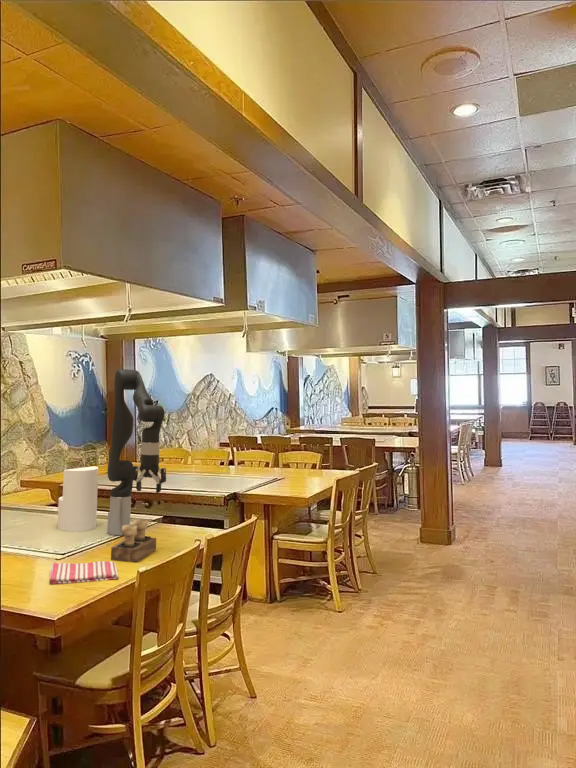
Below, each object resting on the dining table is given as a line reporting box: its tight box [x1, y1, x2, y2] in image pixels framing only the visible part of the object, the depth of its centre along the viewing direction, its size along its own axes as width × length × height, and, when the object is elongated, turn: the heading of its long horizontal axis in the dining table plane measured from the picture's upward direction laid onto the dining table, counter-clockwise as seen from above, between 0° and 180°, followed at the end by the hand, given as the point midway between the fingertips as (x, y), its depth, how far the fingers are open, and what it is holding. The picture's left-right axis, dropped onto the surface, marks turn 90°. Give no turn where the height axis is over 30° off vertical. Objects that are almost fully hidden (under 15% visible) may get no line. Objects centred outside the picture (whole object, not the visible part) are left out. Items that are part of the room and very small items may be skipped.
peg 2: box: [132, 518, 148, 540], centre depth 248 cm, size 6×6×9 cm
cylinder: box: [57, 465, 99, 533], centre depth 284 cm, size 17×17×28 cm
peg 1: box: [121, 524, 137, 546], centre depth 239 cm, size 6×6×9 cm
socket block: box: [110, 535, 157, 563], centre depth 244 cm, size 11×18×6 cm, turn 169°
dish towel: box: [49, 560, 119, 585], centre depth 217 cm, size 17×23×4 cm
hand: (148, 491), depth 250 cm, fingers open, 8 cm apart
